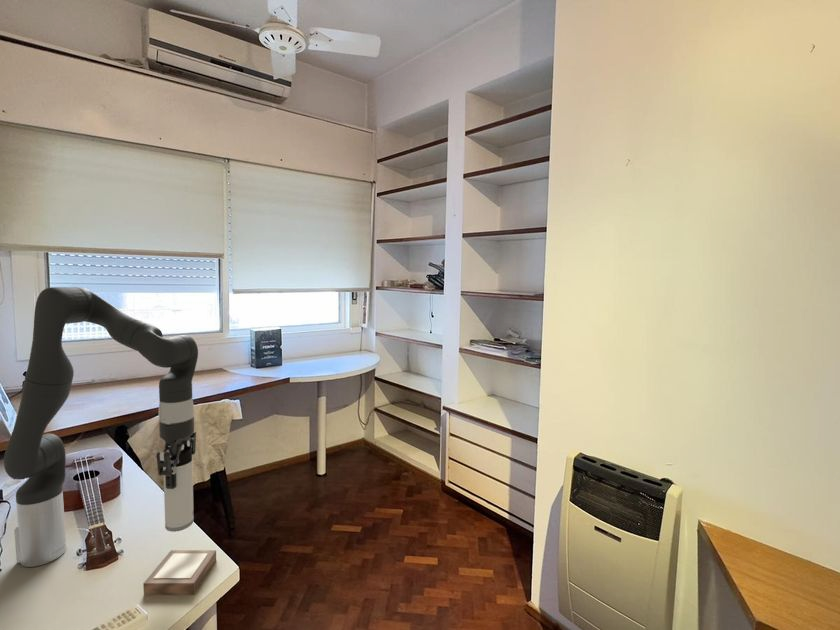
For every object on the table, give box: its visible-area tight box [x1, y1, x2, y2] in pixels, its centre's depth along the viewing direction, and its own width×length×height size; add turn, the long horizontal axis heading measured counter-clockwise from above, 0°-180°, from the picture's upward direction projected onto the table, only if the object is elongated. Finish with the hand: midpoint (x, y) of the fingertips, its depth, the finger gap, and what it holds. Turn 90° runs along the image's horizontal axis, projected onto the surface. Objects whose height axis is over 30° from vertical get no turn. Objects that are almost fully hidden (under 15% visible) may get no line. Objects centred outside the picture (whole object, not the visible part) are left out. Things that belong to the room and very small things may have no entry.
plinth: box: [142, 549, 217, 596], centre depth 107 cm, size 12×12×3 cm
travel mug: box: [163, 444, 195, 532], centre depth 105 cm, size 6×7×20 cm
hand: (178, 480), depth 104 cm, fingers closed on travel mug, 6 cm apart
